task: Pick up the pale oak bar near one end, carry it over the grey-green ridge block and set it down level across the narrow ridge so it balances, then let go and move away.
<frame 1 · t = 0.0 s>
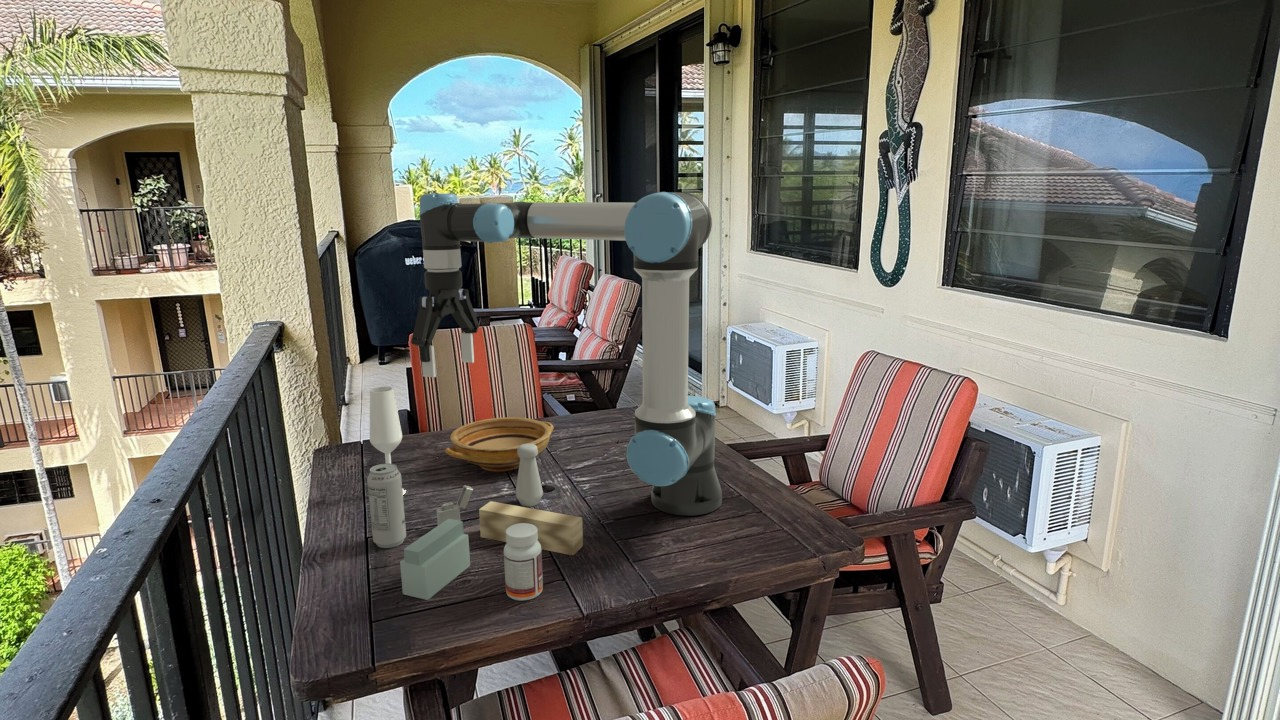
hand: (449, 369, 154), 28 cm above the table, tool pointing down, fingers open, 13 cm apart
champagne flute: (391, 494, 160), on the table
oak bar: (531, 542, 138), on the table
salt shaker: (529, 503, 155), on the table
energy drink can: (390, 542, 138), on the table
pill bottle: (524, 592, 121), on the table
ridge block: (437, 579, 125), on the table
ceramic bowl: (503, 463, 178), on the table
lighter: (456, 527, 144), on the table
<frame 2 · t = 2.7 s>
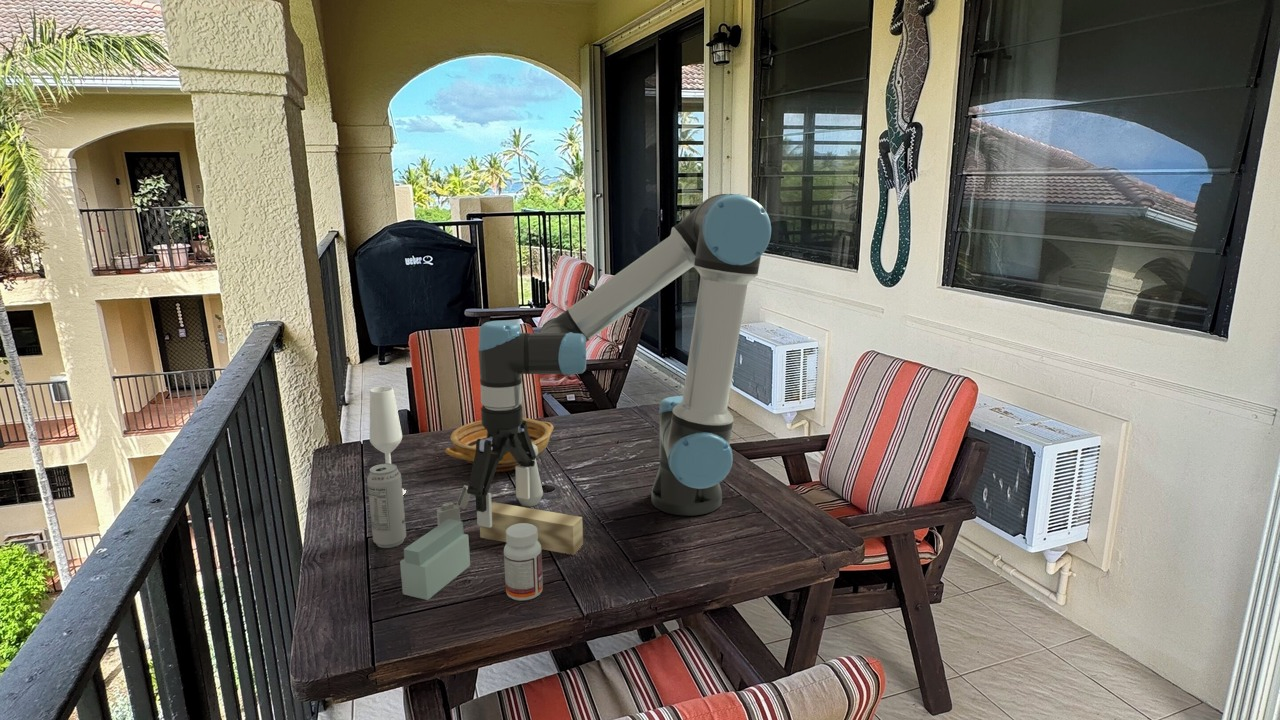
hand: (504, 511, 138), 5 cm above the table, tool pointing down, fingers open, 13 cm apart
nothing on the table moved.
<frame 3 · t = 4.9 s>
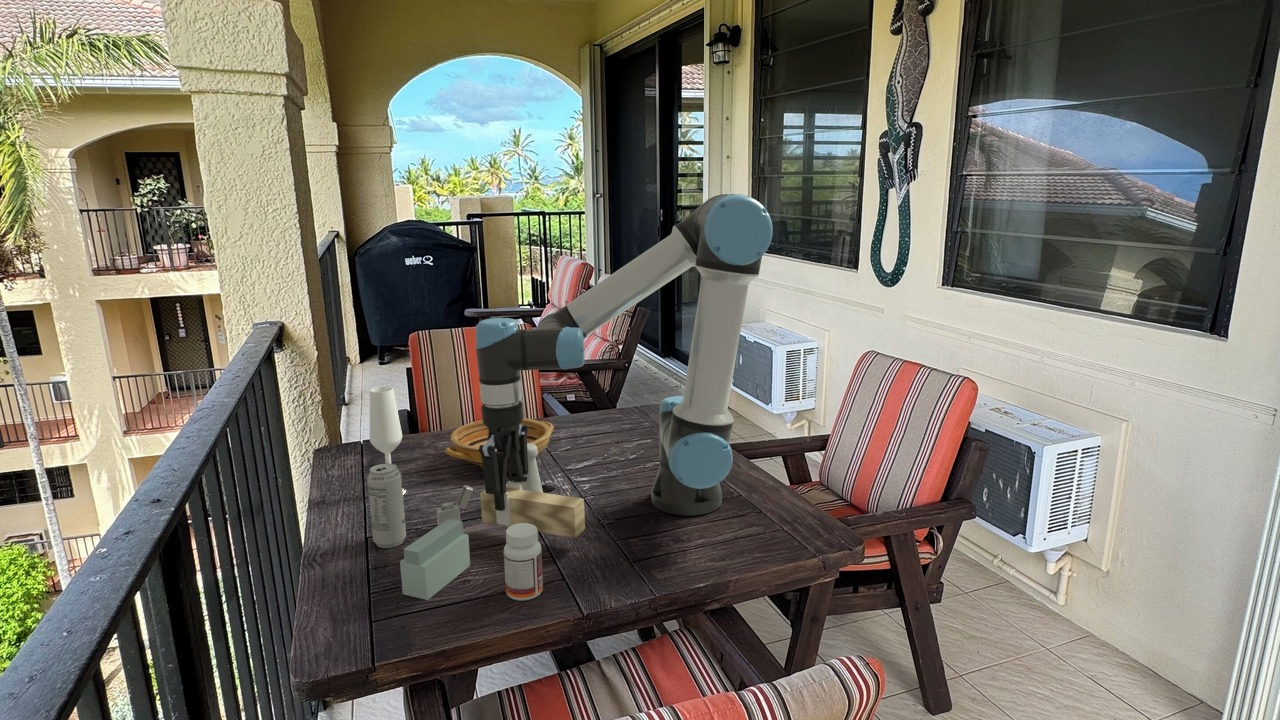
hand: (510, 518, 139), 4 cm above the table, tool pointing down, fingers closed on oak bar, 4 cm apart
oak bar: (533, 525, 137), point 3 cm above the table, touching gripper
everything else where it was.
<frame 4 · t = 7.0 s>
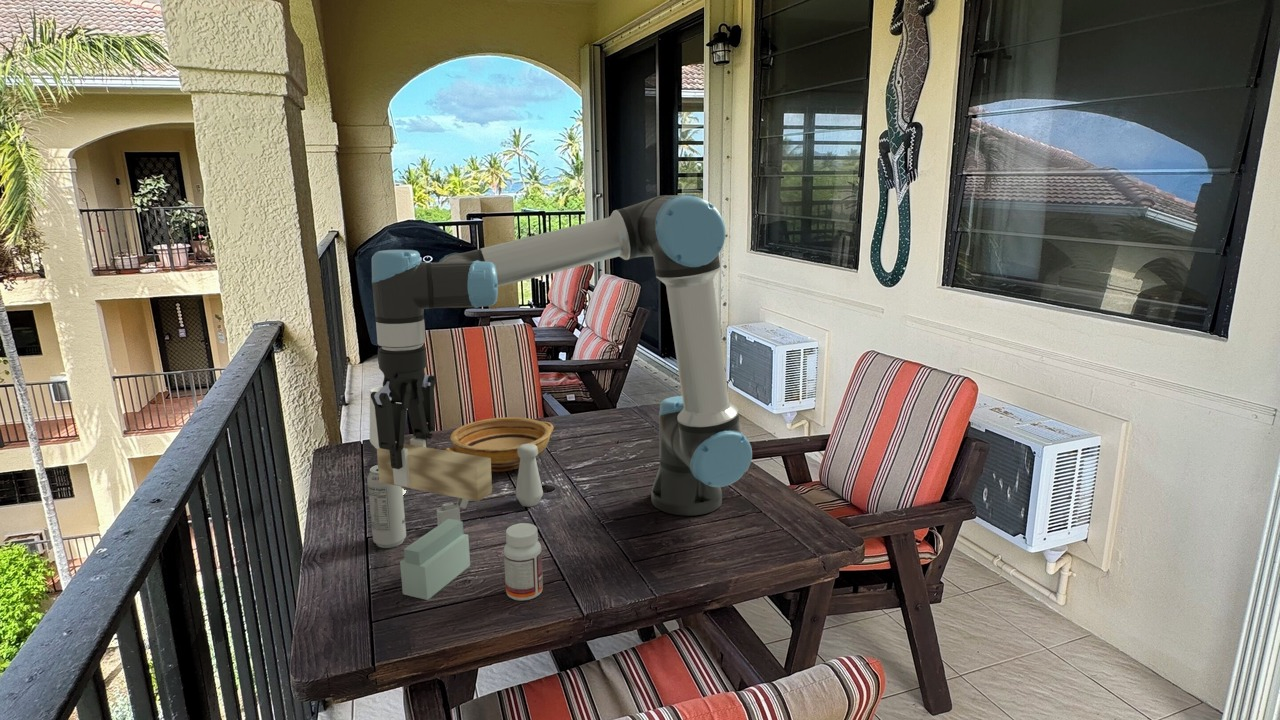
hand: (411, 479, 123), 17 cm above the table, tool pointing down, fingers closed on oak bar, 4 cm apart
oak bar: (434, 487, 122), point 17 cm above the table, touching gripper
everything else where it was.
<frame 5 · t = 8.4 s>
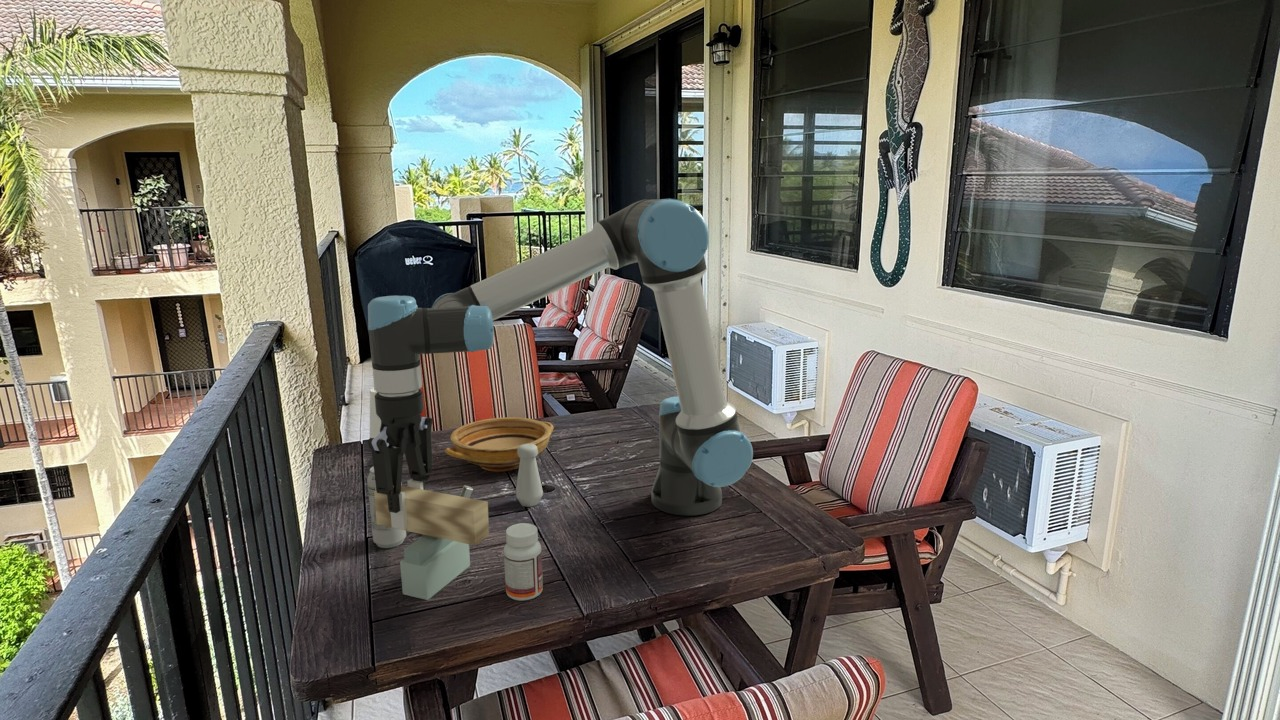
hand: (408, 521, 124), 10 cm above the table, tool pointing down, fingers closed on oak bar, 4 cm apart
oak bar: (432, 529, 122), point 9 cm above the table, touching gripper
everything else where it was.
when the fingers open (8 cm above the table, at t = 9.1 s): oak bar stays where it is, resting on ridge block.
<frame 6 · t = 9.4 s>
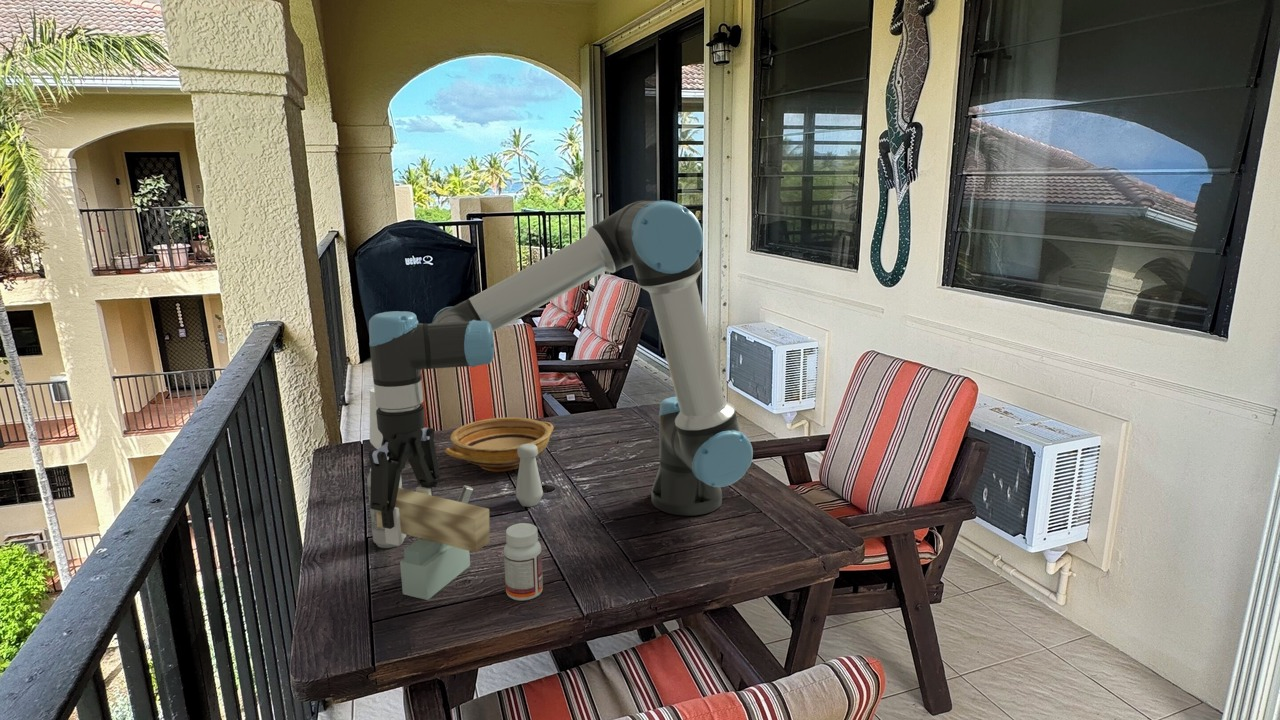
hand: (410, 532, 125), 8 cm above the table, tool pointing down, fingers open, 8 cm apart
oak bar: (432, 534, 123), point 8 cm above the table, touching ridge block
everything else where it was.
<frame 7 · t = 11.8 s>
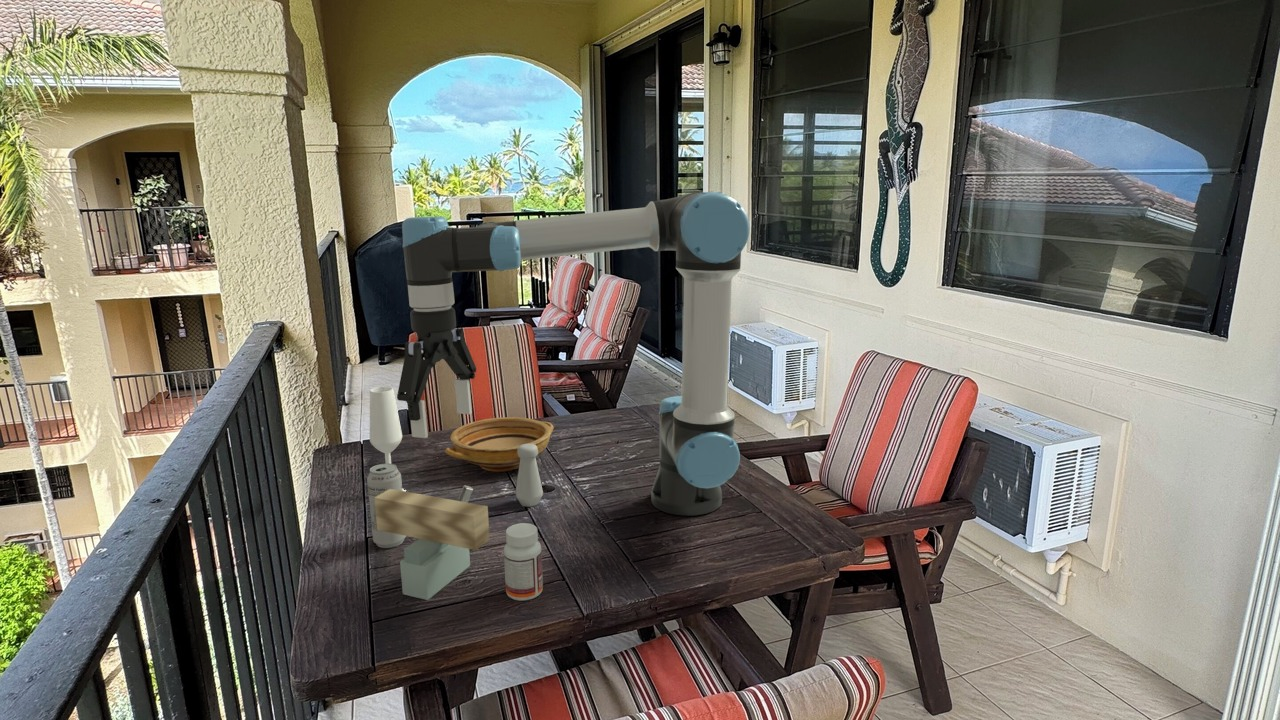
hand: (443, 424, 130), 24 cm above the table, tool pointing down, fingers open, 13 cm apart
nothing on the table moved.
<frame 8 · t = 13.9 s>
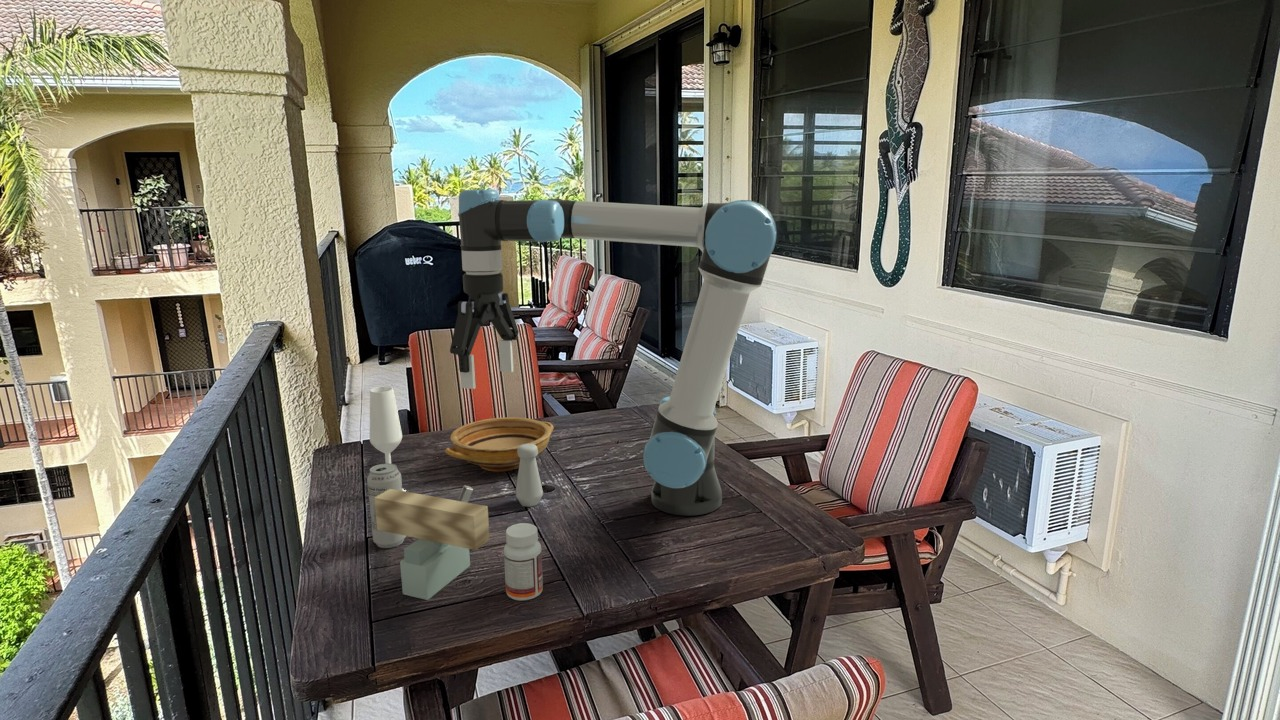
hand: (488, 379, 143), 29 cm above the table, tool pointing down, fingers open, 13 cm apart
nothing on the table moved.
at the end: oak bar 0.3 cm off-centre on the ridge block, point 8.4 cm above the ridge block's base; oak bar tilted 0°; oak bar touching ridge block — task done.
